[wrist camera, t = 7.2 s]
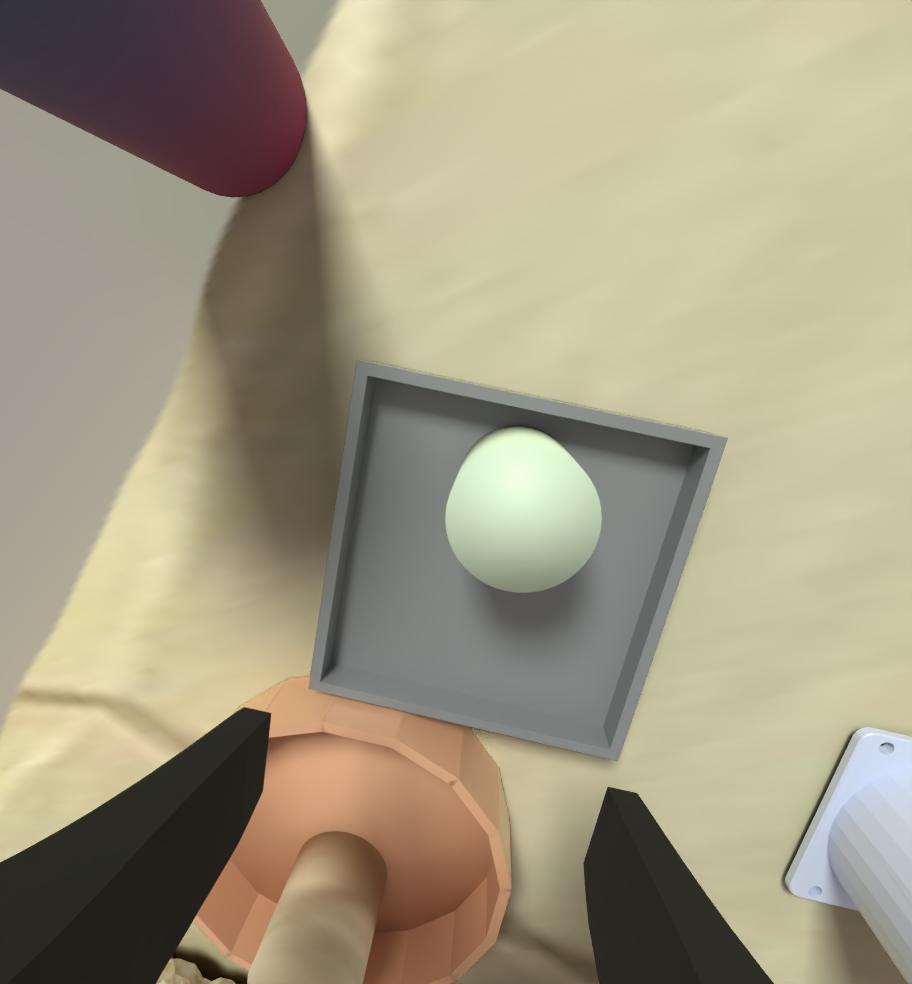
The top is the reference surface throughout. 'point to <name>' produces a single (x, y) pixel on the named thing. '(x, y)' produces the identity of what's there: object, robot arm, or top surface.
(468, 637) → the tray
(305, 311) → the top surface
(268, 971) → the beige rounded cylinder
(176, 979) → the mineral formation
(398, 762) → the bowl
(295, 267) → the top surface
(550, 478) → the mint green rounded cylinder
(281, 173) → the cup
